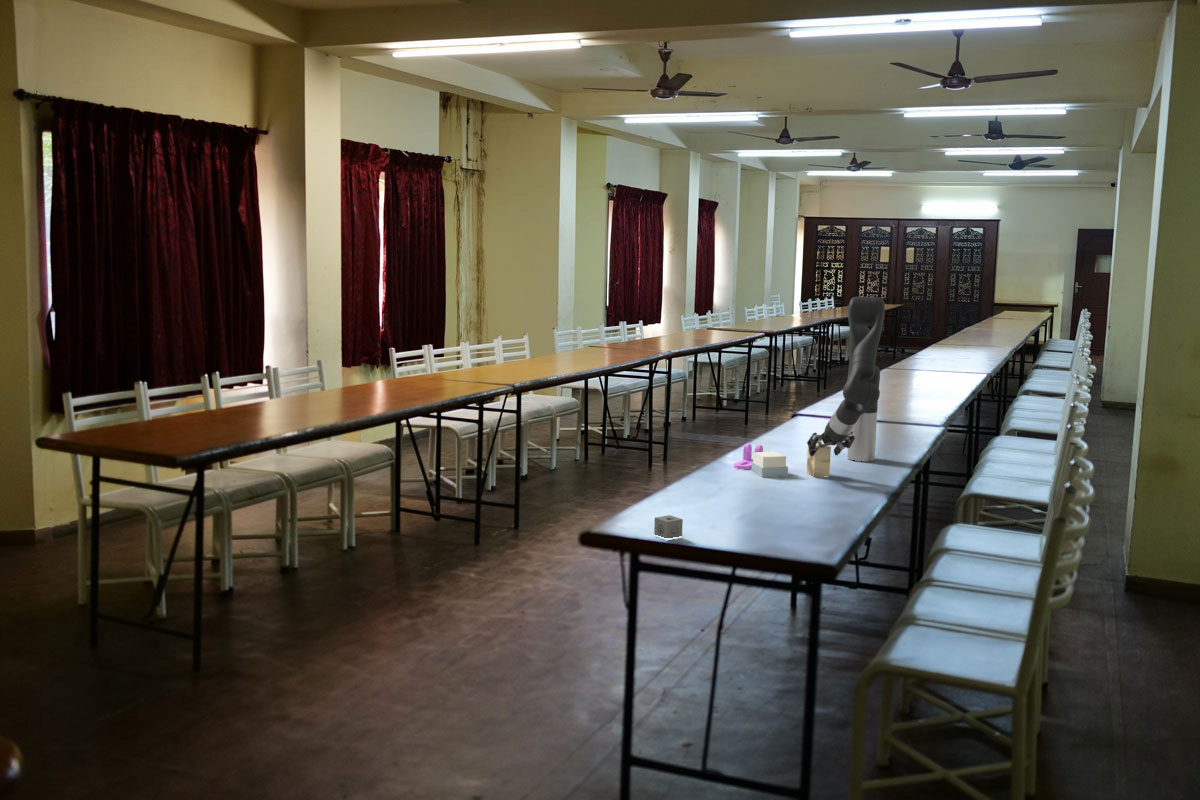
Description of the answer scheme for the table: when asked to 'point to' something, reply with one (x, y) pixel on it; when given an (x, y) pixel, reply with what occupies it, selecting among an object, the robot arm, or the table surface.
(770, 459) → the tower top
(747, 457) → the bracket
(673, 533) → the dice cube
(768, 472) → the tower base
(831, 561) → the table surface
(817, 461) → the maple pillar
